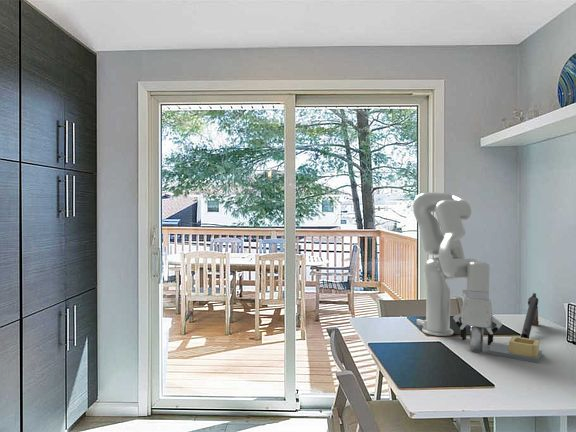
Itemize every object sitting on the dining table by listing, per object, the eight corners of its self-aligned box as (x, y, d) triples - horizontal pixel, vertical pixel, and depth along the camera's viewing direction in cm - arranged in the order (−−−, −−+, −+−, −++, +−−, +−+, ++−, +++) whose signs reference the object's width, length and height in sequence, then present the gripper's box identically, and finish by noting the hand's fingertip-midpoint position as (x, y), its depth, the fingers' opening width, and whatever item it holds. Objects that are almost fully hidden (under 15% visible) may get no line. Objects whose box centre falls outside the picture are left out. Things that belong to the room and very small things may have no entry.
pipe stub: (468, 351, 164) (469, 326, 164) (471, 348, 168) (472, 324, 168) (481, 353, 162) (482, 328, 162) (484, 350, 165) (484, 326, 165)
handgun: (530, 363, 181) (530, 332, 177) (520, 361, 183) (519, 330, 179) (540, 321, 205) (539, 293, 200) (530, 320, 207) (529, 292, 202)
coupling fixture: (487, 353, 162) (487, 339, 162) (494, 345, 171) (494, 332, 171) (537, 362, 152) (538, 347, 152) (541, 353, 162) (542, 339, 162)
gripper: (450, 293, 166) (449, 340, 167) (501, 299, 156) (500, 349, 157) (456, 290, 172) (455, 335, 173) (505, 296, 162) (504, 344, 163)
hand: (476, 341), depth 165 cm, fingers open, 8 cm apart
